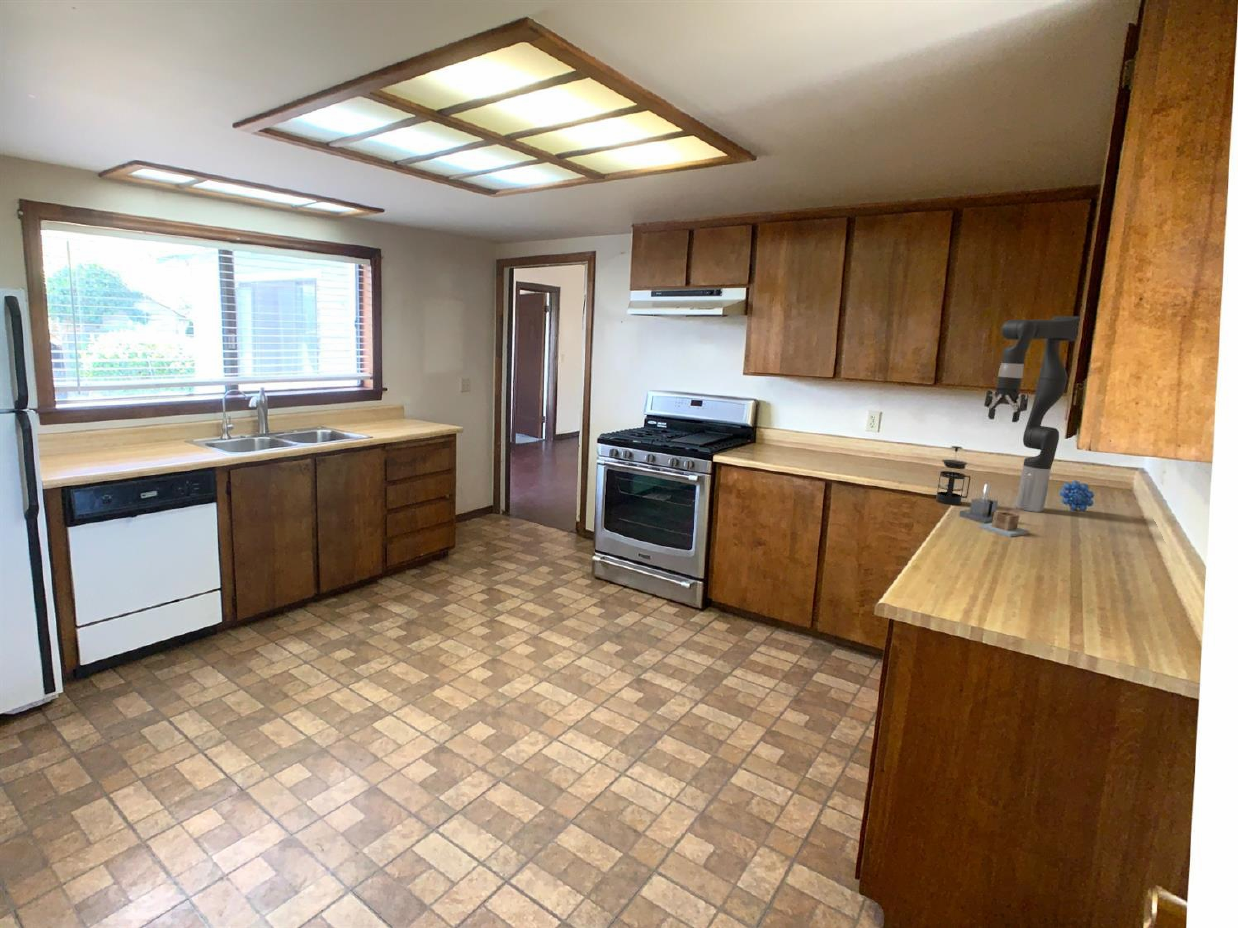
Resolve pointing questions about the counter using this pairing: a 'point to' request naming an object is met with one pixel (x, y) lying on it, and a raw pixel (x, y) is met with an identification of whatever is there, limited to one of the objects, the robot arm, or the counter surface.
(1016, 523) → the collar
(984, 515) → the grey block-shaped fixture
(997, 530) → the mat
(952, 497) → the french press
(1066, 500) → the grapes
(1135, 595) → the counter surface
